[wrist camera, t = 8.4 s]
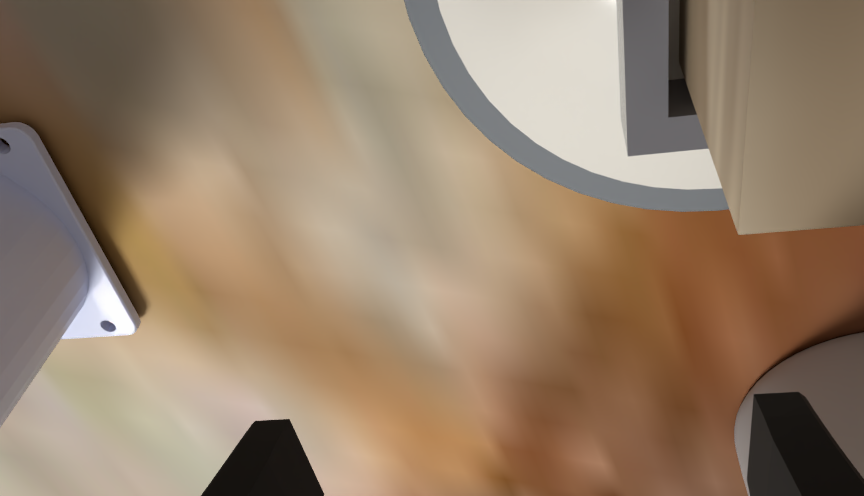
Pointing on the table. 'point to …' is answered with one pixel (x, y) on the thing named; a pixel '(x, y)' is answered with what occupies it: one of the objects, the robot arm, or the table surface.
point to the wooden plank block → (780, 107)
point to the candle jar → (577, 93)
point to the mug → (817, 394)
